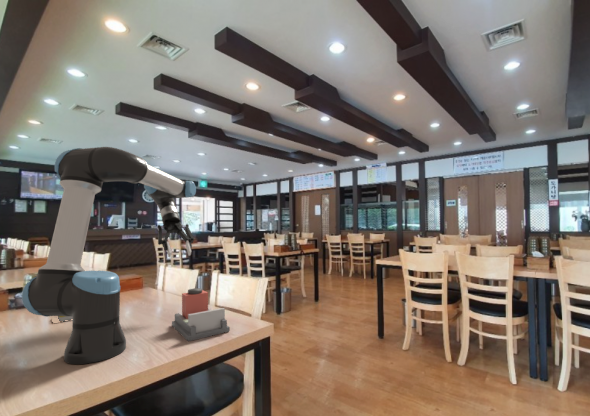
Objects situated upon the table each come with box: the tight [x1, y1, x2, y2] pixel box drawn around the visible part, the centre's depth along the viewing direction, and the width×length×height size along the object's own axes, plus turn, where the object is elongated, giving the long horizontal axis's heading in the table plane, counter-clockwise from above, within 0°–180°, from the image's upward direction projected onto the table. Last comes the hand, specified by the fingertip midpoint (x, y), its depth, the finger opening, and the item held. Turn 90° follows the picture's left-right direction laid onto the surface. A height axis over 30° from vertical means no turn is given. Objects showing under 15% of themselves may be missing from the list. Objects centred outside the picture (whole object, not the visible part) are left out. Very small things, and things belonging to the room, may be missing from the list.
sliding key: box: [181, 287, 209, 319], centre depth 114 cm, size 8×5×11 cm, turn 126°
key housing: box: [171, 307, 231, 342], centre depth 110 cm, size 14×20×8 cm
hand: (180, 254), depth 131 cm, fingers open, 8 cm apart
